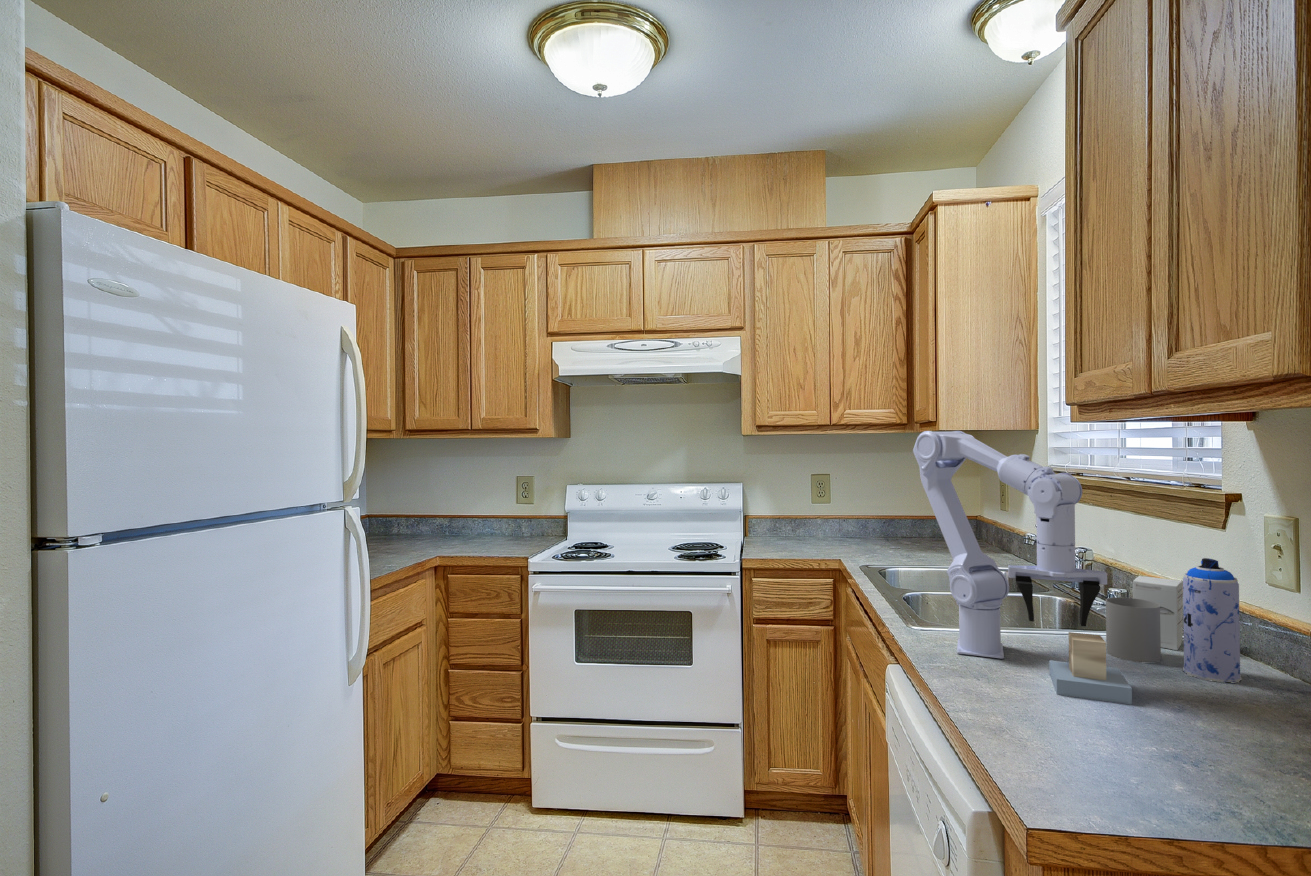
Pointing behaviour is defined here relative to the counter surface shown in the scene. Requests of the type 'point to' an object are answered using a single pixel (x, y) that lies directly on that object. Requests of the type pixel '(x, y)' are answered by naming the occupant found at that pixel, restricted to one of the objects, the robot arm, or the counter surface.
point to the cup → (1133, 629)
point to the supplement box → (1164, 606)
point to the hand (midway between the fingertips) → (1056, 622)
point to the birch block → (1087, 656)
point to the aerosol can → (1211, 623)
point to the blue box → (1090, 684)
